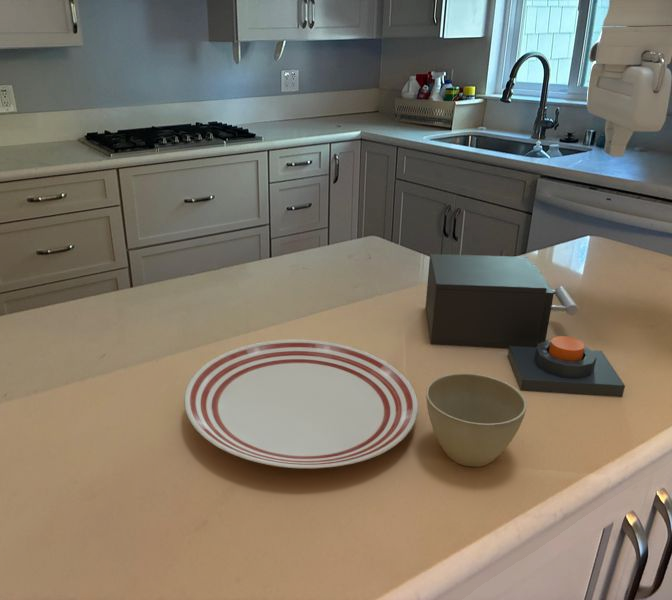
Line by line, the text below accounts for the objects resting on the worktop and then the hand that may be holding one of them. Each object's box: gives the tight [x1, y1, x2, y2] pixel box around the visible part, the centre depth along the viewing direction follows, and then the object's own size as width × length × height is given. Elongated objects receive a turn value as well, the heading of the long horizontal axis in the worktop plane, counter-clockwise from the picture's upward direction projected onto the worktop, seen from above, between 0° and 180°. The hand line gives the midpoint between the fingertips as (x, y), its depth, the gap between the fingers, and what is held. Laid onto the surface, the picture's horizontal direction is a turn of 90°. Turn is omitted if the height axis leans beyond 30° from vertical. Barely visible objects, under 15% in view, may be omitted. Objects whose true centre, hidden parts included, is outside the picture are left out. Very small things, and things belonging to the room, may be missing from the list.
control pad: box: [507, 339, 626, 398], centre depth 80 cm, size 12×9×4 cm
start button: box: [549, 335, 586, 361], centre depth 79 cm, size 4×4×2 cm
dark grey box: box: [424, 253, 547, 350], centre depth 92 cm, size 15×13×10 cm
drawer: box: [531, 263, 579, 344], centre depth 91 cm, size 18×11×8 cm, turn 81°
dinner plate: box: [183, 339, 419, 469], centre depth 74 cm, size 27×27×3 cm
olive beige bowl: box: [425, 372, 528, 468], centre depth 65 cm, size 10×10×7 cm
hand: (613, 154), depth 87 cm, fingers closed
